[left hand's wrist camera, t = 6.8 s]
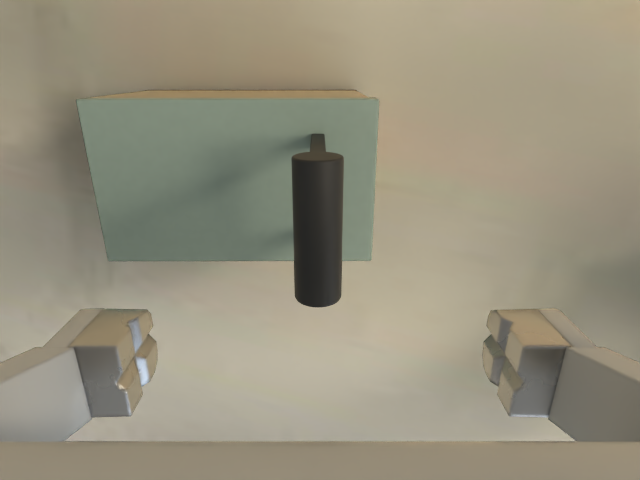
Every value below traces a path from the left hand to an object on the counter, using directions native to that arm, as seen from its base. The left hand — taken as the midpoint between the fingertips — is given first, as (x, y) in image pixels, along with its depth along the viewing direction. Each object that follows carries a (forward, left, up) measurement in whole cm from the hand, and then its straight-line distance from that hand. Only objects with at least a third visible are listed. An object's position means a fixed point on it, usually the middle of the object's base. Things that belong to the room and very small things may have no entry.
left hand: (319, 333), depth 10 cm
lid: (+3, -4, -16) cm, 16 cm away
